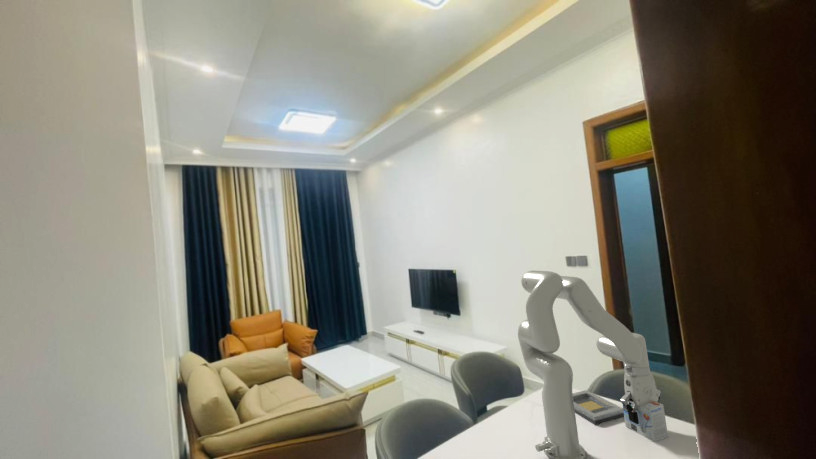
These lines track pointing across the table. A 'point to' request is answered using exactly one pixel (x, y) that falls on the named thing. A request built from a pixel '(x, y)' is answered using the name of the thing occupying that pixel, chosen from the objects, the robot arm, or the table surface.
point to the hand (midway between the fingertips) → (644, 418)
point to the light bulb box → (649, 421)
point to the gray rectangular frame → (595, 408)
